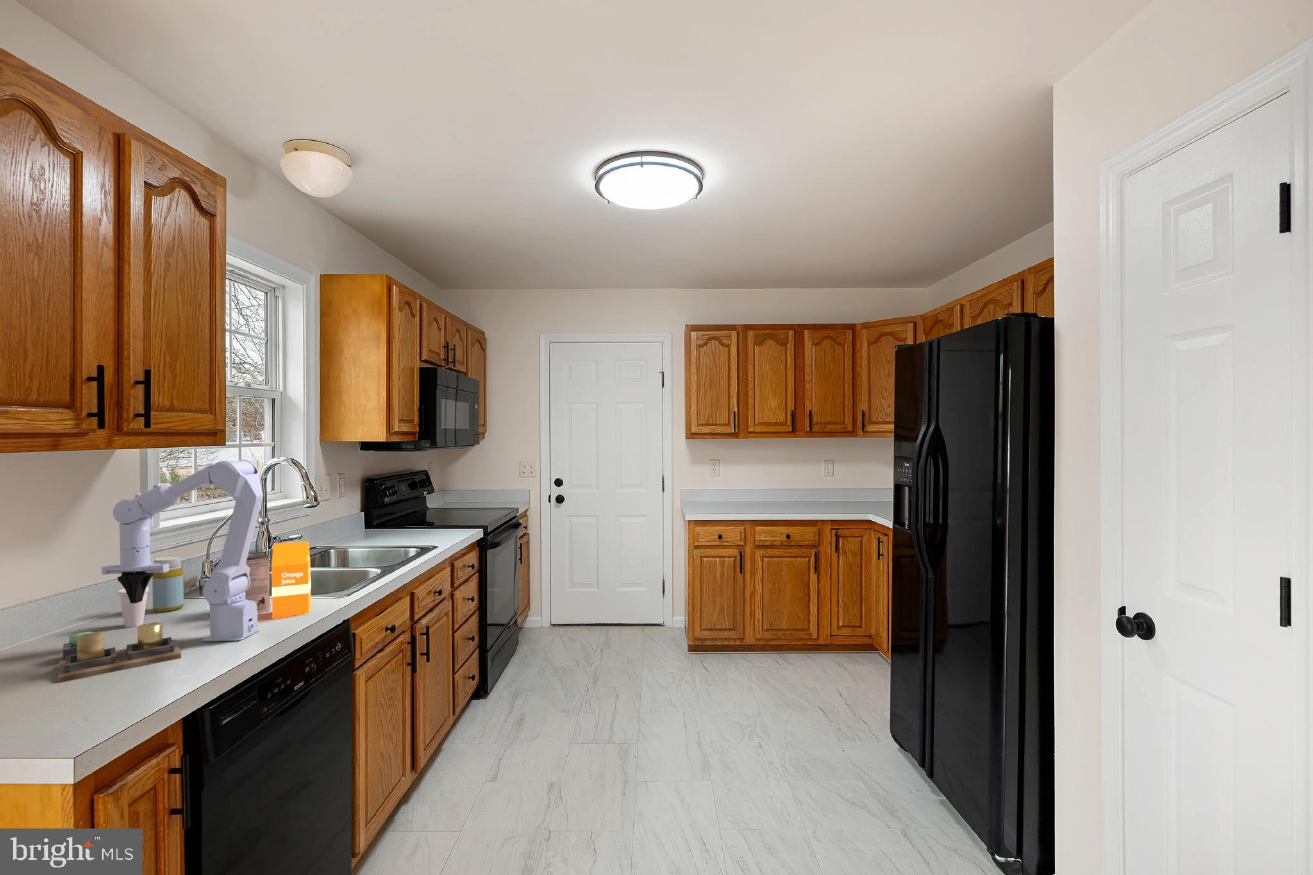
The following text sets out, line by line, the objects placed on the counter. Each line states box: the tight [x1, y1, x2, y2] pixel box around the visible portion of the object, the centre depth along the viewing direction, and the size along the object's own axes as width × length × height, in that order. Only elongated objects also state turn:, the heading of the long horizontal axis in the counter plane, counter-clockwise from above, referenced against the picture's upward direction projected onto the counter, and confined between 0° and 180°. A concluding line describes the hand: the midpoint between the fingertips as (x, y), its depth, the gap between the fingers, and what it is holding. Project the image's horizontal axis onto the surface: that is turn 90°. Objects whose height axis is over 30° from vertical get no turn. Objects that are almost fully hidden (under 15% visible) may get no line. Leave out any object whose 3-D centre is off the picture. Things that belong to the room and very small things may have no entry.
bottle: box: [151, 555, 185, 613], centre depth 179 cm, size 7×7×15 cm
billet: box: [136, 621, 164, 651], centre depth 141 cm, size 4×4×6 cm
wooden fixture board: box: [57, 631, 182, 683], centre depth 137 cm, size 20×13×7 cm, turn 133°
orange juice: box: [271, 540, 312, 619], centre depth 174 cm, size 8×9×20 cm
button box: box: [62, 642, 77, 661], centre depth 141 cm, size 6×6×3 cm
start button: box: [68, 631, 94, 645], centre depth 141 cm, size 4×4×2 cm
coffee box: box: [245, 551, 271, 614], centre depth 177 cm, size 9×6×16 cm
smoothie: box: [117, 586, 150, 628], centre depth 164 cm, size 6×6×14 cm
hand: (136, 602), depth 152 cm, fingers closed
